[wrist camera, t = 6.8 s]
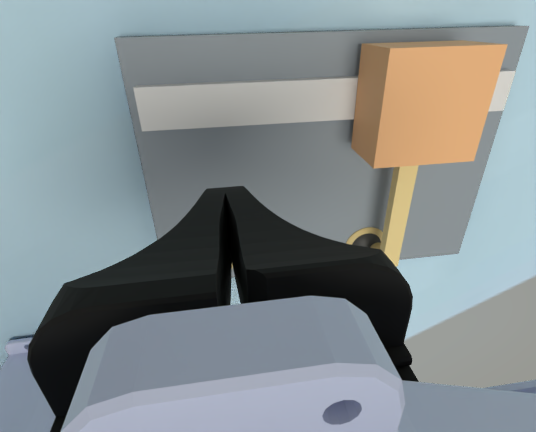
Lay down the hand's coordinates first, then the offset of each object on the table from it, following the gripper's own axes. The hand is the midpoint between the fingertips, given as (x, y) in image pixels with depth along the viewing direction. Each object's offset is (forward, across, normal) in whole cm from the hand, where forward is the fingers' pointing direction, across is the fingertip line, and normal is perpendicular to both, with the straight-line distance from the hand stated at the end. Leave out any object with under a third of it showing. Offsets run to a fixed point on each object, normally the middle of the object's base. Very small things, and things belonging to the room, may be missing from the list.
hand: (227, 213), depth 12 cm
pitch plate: (+8, -6, +2) cm, 10 cm away
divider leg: (+7, -9, +2) cm, 12 cm away
